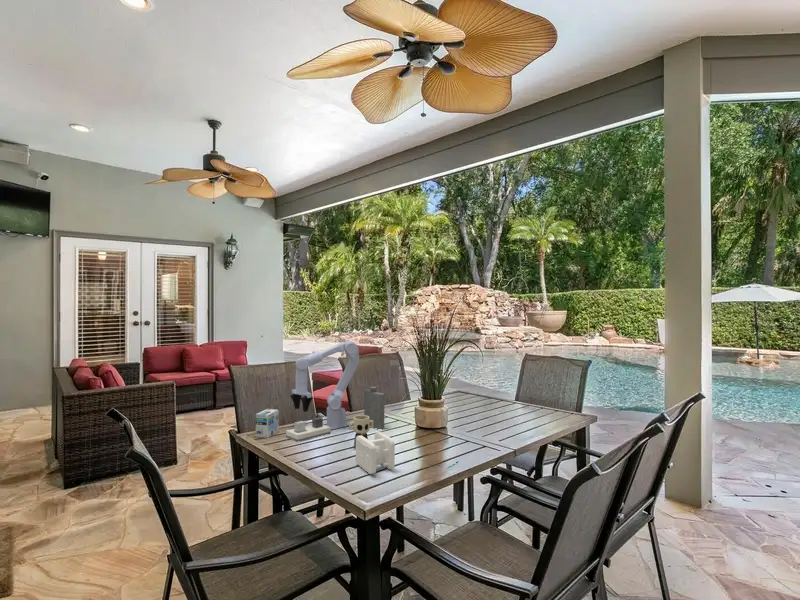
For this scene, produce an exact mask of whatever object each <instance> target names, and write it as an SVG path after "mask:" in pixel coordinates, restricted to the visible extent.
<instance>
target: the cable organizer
mask: <svg viewBox="0 0 800 600" xmlns="http://www.w3.org/2000/svg"><path fill="white" fill-rule="evenodd" d="M395 444H396V443H395V440H394V439H393V438H391V437H390V436H388V435H386V434H384V433H383V432H381V431H377V432H375V434H374V439H372V440H371V439H370V440H369V439H366V438H365V437H363V436H362V435H361V436H357V437H356V447H355V462H356V463H357V465H358V466H359V467H360V468H361V467H362V468H361V469H363V470H364V471H365V472H366V471H367V472H368V474H369V475H373V474H376V473H377V469H378V465H382V468H386V467H387V468H388V469H391V470H392V469H395V465H396V464H395V461H396V460H395V459H396V458H395V457H396V454H395V452H396V451H395V450H396V449H395V446H396V445H395ZM387 468H386V469H387ZM388 469H387V470H388ZM367 472H366V473H367Z"/></svg>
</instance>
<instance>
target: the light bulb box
mask: <svg viewBox="0 0 800 600" xmlns="http://www.w3.org/2000/svg"><path fill="white" fill-rule="evenodd" d="M279 415H280V410H279V409H273V408H266V409H264V410H262V411H259V412H257V413H255V438H266V439H269V438H270V437H272V436H274V435H275V433H276V434H278V433H279V427H280V426H279V425H280V419H279V418H280V416H279Z"/></svg>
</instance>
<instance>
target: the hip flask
mask: <svg viewBox="0 0 800 600" xmlns="http://www.w3.org/2000/svg"><path fill="white" fill-rule="evenodd" d="M377 388H378V387H377V386H369V388H365V389H364V396H363V397H364V398H363V399H364V400H363V401H364V402H363V403H364V407H363V411H364V412H363V413H364V414H363V415H366V416H369V418H370V420H373V428H372V429H375V428H377V429H376V430H378V429H384V430H385V401H386V400H385V393H384V392H383V393H382V392H379V391H377ZM369 426H371V422H369Z"/></svg>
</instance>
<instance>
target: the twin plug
mask: <svg viewBox="0 0 800 600" xmlns="http://www.w3.org/2000/svg"><path fill="white" fill-rule="evenodd" d="M323 423H324V418H323V417H320V416H317V417H314V418H312V419H311V425H312V427H314V428H319V427H323V425H324V424H323Z"/></svg>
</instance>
